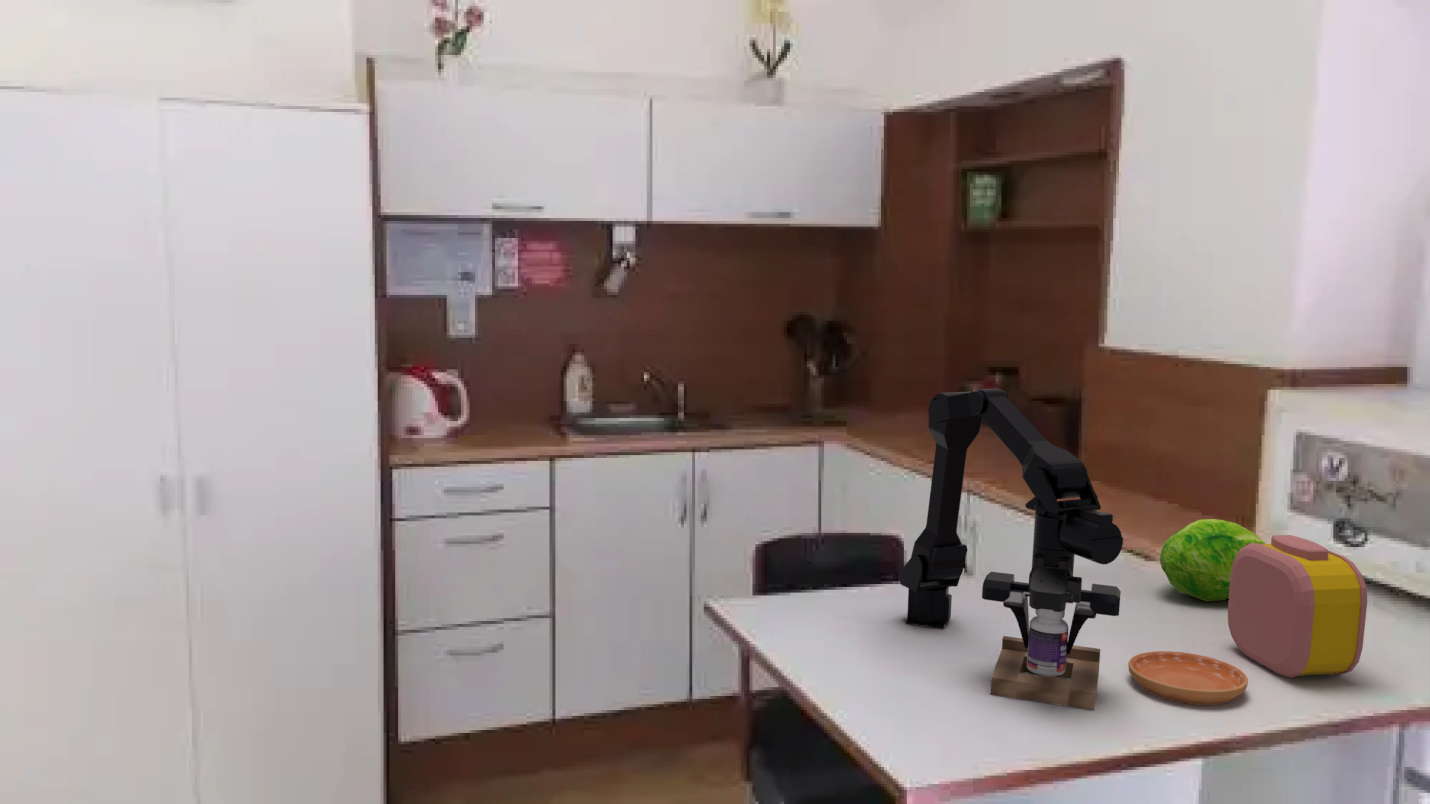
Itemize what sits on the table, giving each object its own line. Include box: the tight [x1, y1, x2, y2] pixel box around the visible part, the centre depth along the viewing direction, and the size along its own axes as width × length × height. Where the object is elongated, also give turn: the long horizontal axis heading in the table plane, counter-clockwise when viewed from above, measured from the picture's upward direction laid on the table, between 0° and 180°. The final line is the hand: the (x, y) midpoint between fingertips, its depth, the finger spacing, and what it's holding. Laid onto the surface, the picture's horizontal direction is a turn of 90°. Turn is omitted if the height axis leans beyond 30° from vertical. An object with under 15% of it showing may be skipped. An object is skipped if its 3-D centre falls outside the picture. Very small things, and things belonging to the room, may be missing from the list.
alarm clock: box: [1227, 534, 1368, 679], centre depth 172 cm, size 18×11×19 cm, turn 9°
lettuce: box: [1159, 518, 1266, 602], centre depth 206 cm, size 15×23×16 cm
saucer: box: [1127, 650, 1249, 706], centre depth 163 cm, size 16×16×3 cm
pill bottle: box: [1027, 609, 1070, 677], centre depth 163 cm, size 5×5×10 cm
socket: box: [990, 635, 1101, 711], centre depth 163 cm, size 14×14×4 cm
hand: (1047, 650), depth 163 cm, fingers closed on pill bottle, 5 cm apart
